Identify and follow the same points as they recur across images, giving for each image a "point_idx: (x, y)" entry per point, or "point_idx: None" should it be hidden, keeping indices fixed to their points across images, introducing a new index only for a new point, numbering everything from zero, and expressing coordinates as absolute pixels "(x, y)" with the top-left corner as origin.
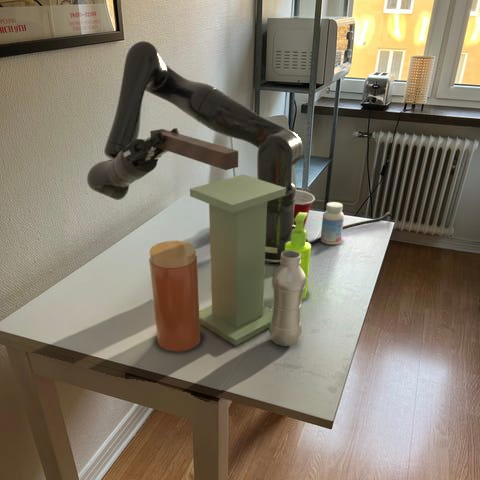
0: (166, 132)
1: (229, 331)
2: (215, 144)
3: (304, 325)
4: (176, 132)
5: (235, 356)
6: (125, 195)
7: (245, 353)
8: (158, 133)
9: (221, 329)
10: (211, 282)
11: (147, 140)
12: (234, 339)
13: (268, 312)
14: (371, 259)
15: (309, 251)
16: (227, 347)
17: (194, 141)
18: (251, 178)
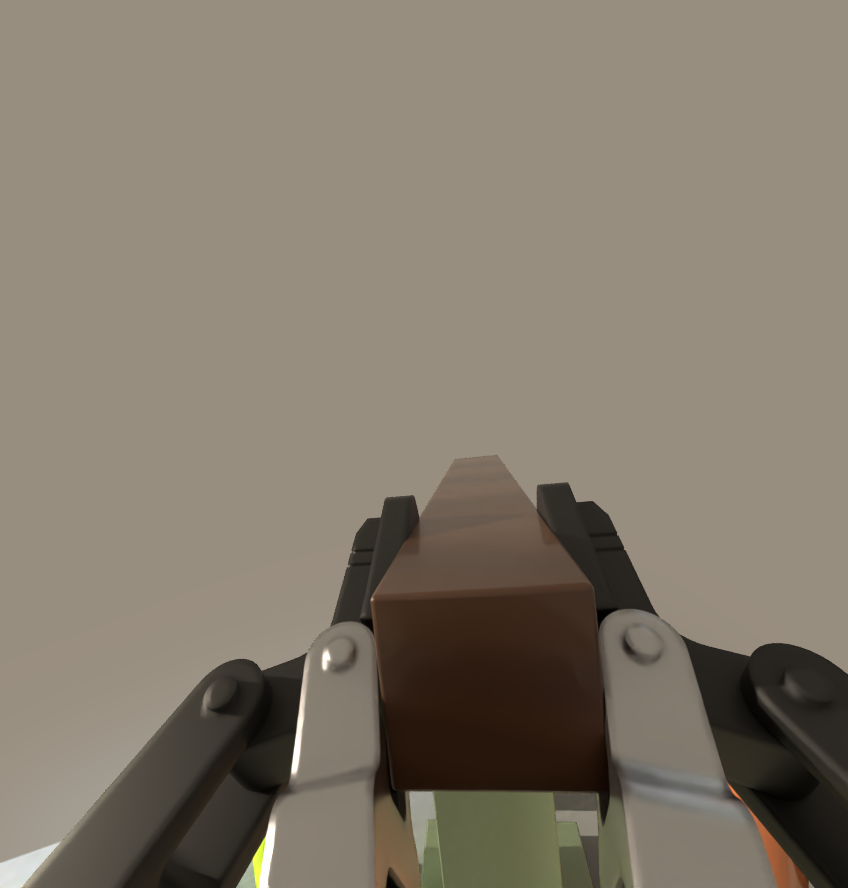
0: (467, 530)
1: (571, 859)
2: (451, 468)
3: (411, 791)
4: (416, 516)
5: (596, 811)
6: None
7: (571, 805)
8: (572, 503)
9: (585, 881)
10: (560, 866)
11: (684, 640)
12: (577, 826)
13: (438, 851)
14: (9, 872)
15: None
16: (597, 847)
17: (479, 475)
18: None
